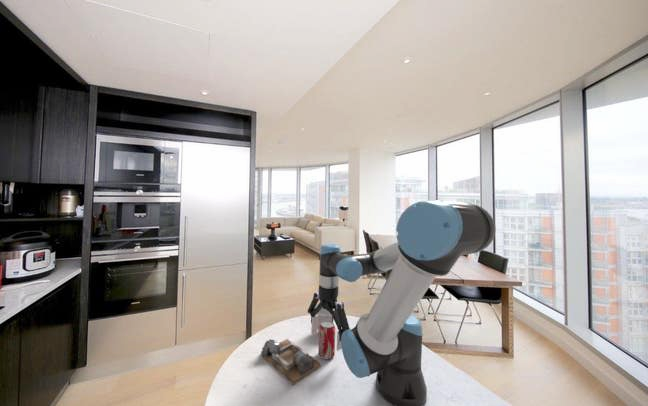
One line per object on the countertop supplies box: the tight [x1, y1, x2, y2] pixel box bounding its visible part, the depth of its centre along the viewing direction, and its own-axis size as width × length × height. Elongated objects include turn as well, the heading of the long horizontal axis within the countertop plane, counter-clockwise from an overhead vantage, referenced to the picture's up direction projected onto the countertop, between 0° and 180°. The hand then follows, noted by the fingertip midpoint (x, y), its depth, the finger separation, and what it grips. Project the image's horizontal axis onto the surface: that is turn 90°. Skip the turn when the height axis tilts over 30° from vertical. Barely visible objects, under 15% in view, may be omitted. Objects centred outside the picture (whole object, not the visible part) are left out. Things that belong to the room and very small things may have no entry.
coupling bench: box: [260, 338, 322, 386], centre depth 84 cm, size 20×12×5 cm, turn 45°
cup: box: [316, 308, 335, 333], centre depth 103 cm, size 8×8×10 cm
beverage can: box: [318, 321, 336, 360], centre depth 88 cm, size 6×6×12 cm
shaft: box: [261, 339, 282, 358], centre depth 86 cm, size 6×6×4 cm
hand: (326, 340), depth 88 cm, fingers open, 13 cm apart
